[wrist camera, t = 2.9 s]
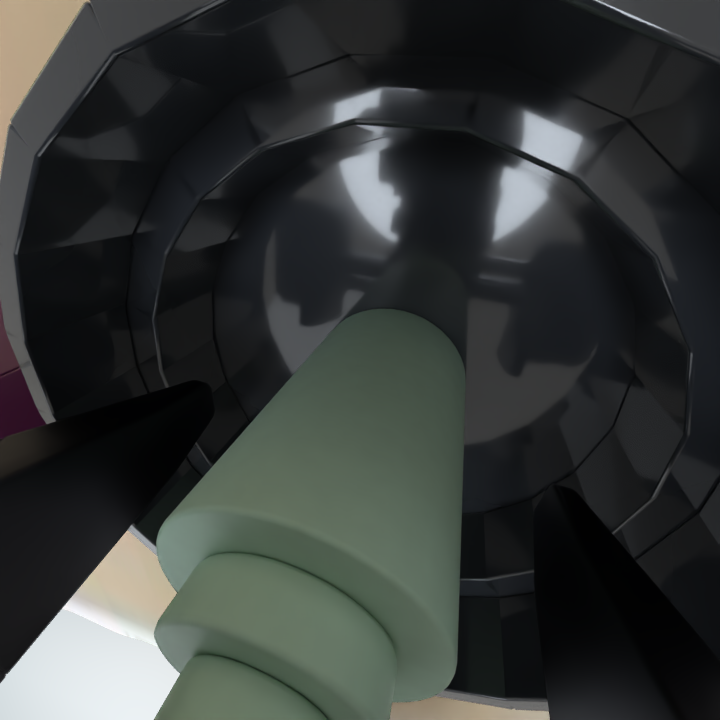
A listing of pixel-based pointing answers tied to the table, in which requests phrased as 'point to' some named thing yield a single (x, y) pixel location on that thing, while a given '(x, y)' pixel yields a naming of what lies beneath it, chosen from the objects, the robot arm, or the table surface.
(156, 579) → the table surface
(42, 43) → the table surface
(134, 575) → the table surface
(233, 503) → the bottle
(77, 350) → the charcoal bowl
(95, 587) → the table surface
